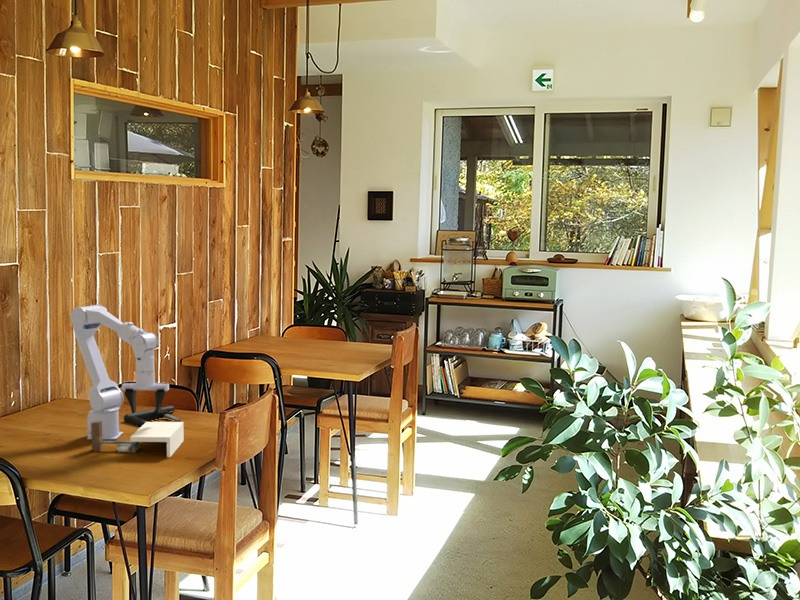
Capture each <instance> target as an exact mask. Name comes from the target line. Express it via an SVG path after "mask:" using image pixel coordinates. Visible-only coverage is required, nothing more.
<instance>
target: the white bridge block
mask: <svg viewBox="0 0 800 600" xmlns="http://www.w3.org/2000/svg"><path fill="white" fill-rule="evenodd" d="M184 422H185V421H181V422H172V421H152V422H146V423H145V424H143V425H142V426H141V427H138V429H137V430H136V431H135V432H134V433H132V435H131V436H130V437H129V438H130V439H129V441H130V442H140V443H144V442H145V443H166V458H171V457H172V456H173V454H175V452H176V451H177V449H178V448H179V447H180V446H181V445H182V444H181V443H183V442H184V441H185V440H184V438H185V435H184V433H185V431H184V429H185V428H184V427H185V426H184Z"/></svg>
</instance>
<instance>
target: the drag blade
mask: <svg viewBox="0 0 800 600" xmlns="http://www.w3.org/2000/svg"><path fill="white" fill-rule="evenodd" d="M91 435H92V439H91V451H92V450H94V451H93V452H101V451H102V450H103V449H102V448H103V445H104V444H105V445H118V444H131V452H130V453H131V454H136V452H138V450H139V449H141V442H130V440H103V439H102V421H93V422H92V423H91ZM101 449H102V450H101ZM100 450H101V451H100Z"/></svg>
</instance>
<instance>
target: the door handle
mask: <svg viewBox="0 0 800 600" xmlns="http://www.w3.org/2000/svg"><path fill="white" fill-rule="evenodd" d="M170 411H174V412H175V406H174V405H166V406H161V408H160V412H159V413H156V408H152V409H145V410H141V411H136V412H135V413H132V412H130V413H127V414H125V415H123V422H125V423H130V424H131V423H132V425H134V426H136V425H137V426H136V427H138V426H142V425H143V424H145V423H146V422H147V421H151V420H155V419H159V418H163V417H164V418H168V419H171V420H174V421H181V422H182V419H181V418H180V417H177V416H175V415H172V414H169V412H170Z"/></svg>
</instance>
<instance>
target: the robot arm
mask: <svg viewBox="0 0 800 600" xmlns="http://www.w3.org/2000/svg"><path fill="white" fill-rule="evenodd" d="M69 320H70V322H71V326H72V328H73V331H74V337H75V339H76V341H77V342H76V343H77V345H78V348H79V351H80V353H81V356H82V358H83V362H84V364H85V367H86V369H87V372H88V375H89V378H90V381H91V384H92V386H91V387H90V389H89V391H88V396H89V405H90V407H91V409H92V410H89V412H88V415H87V438H86V439H87V440H92V435H91V423H92V422H93V421H102V440H117V439H118V438H120V436H121V434H122V435H123V434H124V432H123V431H120V425H119V424H120V422H119V421H120V419H119V413H120V411H119V410H120V409H121V406H122V405H123V403H124V398H126V400H127V401H128V403H129V406H130V411H131V413H135V412H137V401H136V400H137V391H155V392H154V396H155V397H154V398H155V409H156V413H159V412H160V408H161V407H162V403H163V400H164V397H165V395H166V394H167V392H168V391H169V390H170V384H169V383H161V382H155V381H156V380H155V379H156V377H155V375H156V374H155V370H156V369H155V367H156V366H155V350H156V349H157V348H158V346H159V339H158V337H157V335H156V334H155V333H154V332H152V331H148V332H146V331H144V329H143V328H139V327H138V326H136V325H134V322H132V321H129V322H128V321H126V322H125V321H124V322H122V321H121V320H120V319H118V318H117V317H116V316H114V315H113V314H112V313H110V312H109V311H108V308H107V307H104V306H103V305H101V304H94V305H93V304H92V305H87V306H76V307H74V308H73V309H72V310H71V314H70V317H69ZM102 325H103V326H105V327H107V328H109V329H111V330H112V331H114V332H116V335H117V337H118V338H120V339H121V340H122V341H124V342H125V343H127V344H129V345H131V346H130V347H131V348H132V351H133V356H134V357H135V382H130V383H128V382H126V383H122V384H121V389H120V388H119V385H118V383H117V382H115V381H113V380H111V379H110V376H109V373H108V372H107V368H106V366H105V363H104V361H103V357H102V355H101V352H100V349H99V347H98V345H97V341H96V339H95V333H96V332H97V331H98V330H99V328H100V327H101V326H102ZM123 391H124V393H123ZM124 396H125V397H124Z"/></svg>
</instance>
